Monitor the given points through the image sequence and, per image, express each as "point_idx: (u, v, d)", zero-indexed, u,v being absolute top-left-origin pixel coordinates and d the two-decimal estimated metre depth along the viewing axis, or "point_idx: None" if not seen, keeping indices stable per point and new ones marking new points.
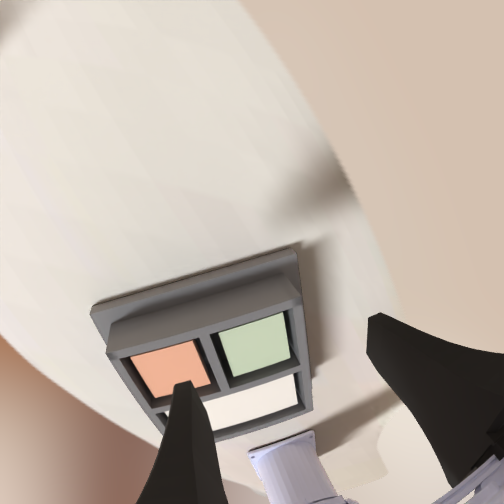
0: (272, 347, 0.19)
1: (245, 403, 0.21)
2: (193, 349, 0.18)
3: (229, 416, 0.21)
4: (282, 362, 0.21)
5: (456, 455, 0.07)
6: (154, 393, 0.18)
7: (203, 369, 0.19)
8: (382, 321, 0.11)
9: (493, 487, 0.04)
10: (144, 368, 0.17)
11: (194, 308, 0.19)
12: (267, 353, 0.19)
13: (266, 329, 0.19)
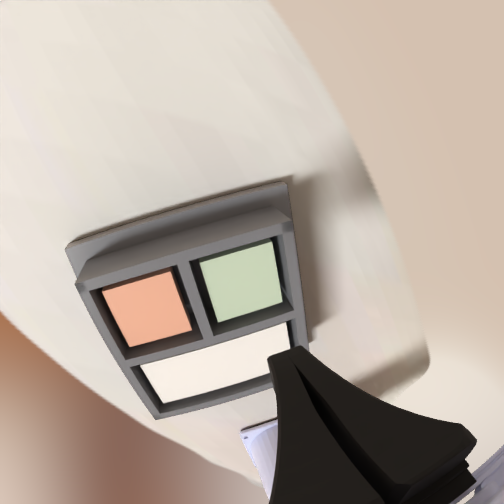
0: (261, 286, 0.18)
1: (232, 359, 0.19)
2: (171, 283, 0.16)
3: (214, 376, 0.20)
4: (273, 308, 0.19)
5: None
6: (128, 341, 0.17)
7: (183, 310, 0.17)
8: (296, 357, 0.10)
9: (493, 487, 0.04)
10: (117, 306, 0.16)
11: (175, 238, 0.17)
12: (255, 294, 0.18)
13: (254, 261, 0.17)
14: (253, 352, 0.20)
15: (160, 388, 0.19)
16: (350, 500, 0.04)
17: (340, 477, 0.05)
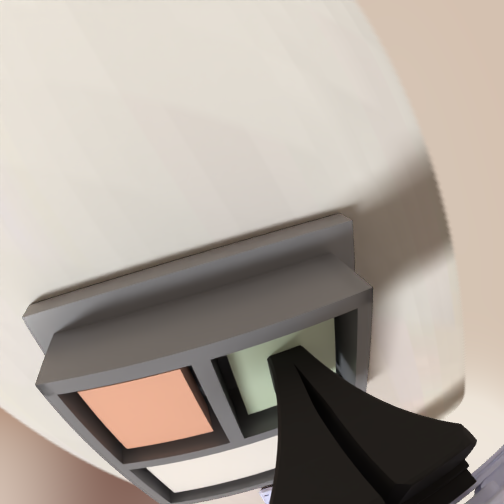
0: None
1: (265, 451, 0.13)
2: (182, 383, 0.10)
3: (241, 468, 0.13)
4: None
5: None
6: (124, 443, 0.10)
7: (201, 412, 0.11)
8: (296, 357, 0.10)
9: (493, 487, 0.04)
10: (103, 409, 0.09)
11: (184, 311, 0.10)
12: None
13: (305, 341, 0.11)
14: None
15: (170, 482, 0.12)
16: (350, 500, 0.04)
17: (340, 477, 0.05)
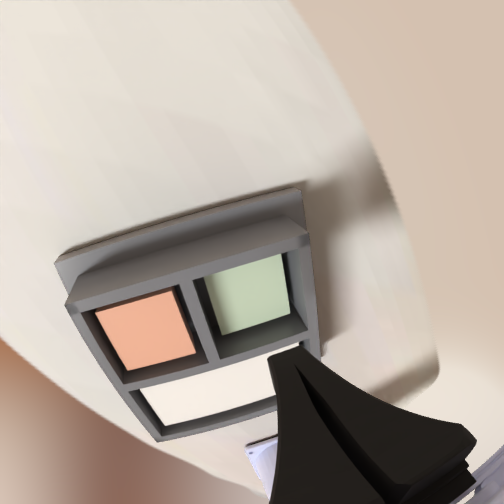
0: (268, 297, 0.16)
1: (240, 381, 0.17)
2: (173, 303, 0.14)
3: (220, 398, 0.18)
4: (285, 327, 0.17)
5: None
6: (126, 364, 0.15)
7: (186, 332, 0.15)
8: (296, 357, 0.10)
9: (493, 487, 0.04)
10: (113, 328, 0.14)
11: (176, 252, 0.15)
12: (262, 305, 0.17)
13: (260, 272, 0.16)
14: (262, 374, 0.18)
15: (162, 411, 0.17)
16: (350, 500, 0.04)
17: (340, 477, 0.05)
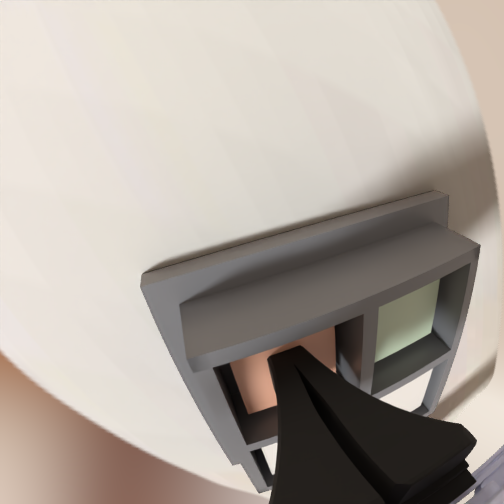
0: (419, 317, 0.13)
1: None
2: (331, 327, 0.11)
3: None
4: (427, 349, 0.13)
5: None
6: (249, 407, 0.12)
7: (334, 360, 0.12)
8: (296, 357, 0.10)
9: (493, 487, 0.04)
10: (245, 367, 0.11)
11: (337, 269, 0.11)
12: (412, 327, 0.13)
13: (421, 289, 0.12)
14: (394, 402, 0.14)
15: (275, 461, 0.13)
16: (350, 500, 0.04)
17: (340, 477, 0.05)
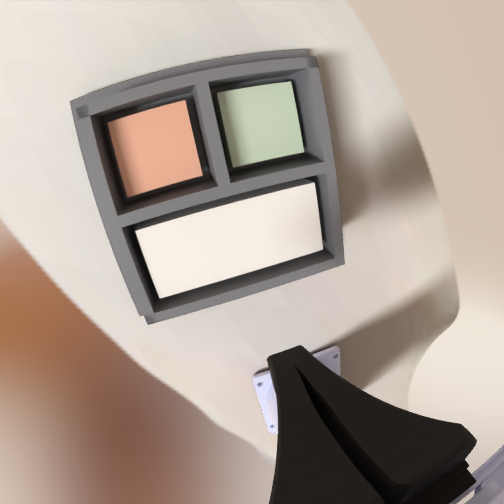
0: (281, 128, 0.15)
1: (251, 229, 0.16)
2: (185, 113, 0.14)
3: (228, 255, 0.16)
4: (300, 163, 0.16)
5: None
6: (127, 188, 0.15)
7: (194, 148, 0.15)
8: (296, 357, 0.10)
9: (493, 487, 0.04)
10: (121, 140, 0.14)
11: None
12: (275, 136, 0.16)
13: (273, 99, 0.15)
14: (277, 221, 0.16)
15: (157, 271, 0.16)
16: (350, 500, 0.04)
17: (340, 477, 0.05)
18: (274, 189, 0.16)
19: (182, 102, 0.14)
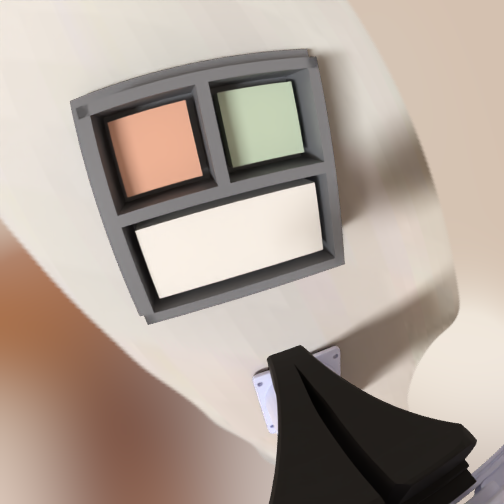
0: (281, 128, 0.15)
1: (251, 229, 0.16)
2: (185, 113, 0.14)
3: (228, 255, 0.16)
4: (300, 163, 0.16)
5: None
6: (127, 188, 0.15)
7: (194, 148, 0.15)
8: (296, 357, 0.10)
9: (493, 487, 0.04)
10: (121, 140, 0.14)
11: None
12: (275, 136, 0.16)
13: (273, 99, 0.15)
14: (277, 221, 0.16)
15: (157, 271, 0.16)
16: (350, 500, 0.04)
17: (340, 477, 0.05)
18: (274, 189, 0.16)
19: (182, 102, 0.14)
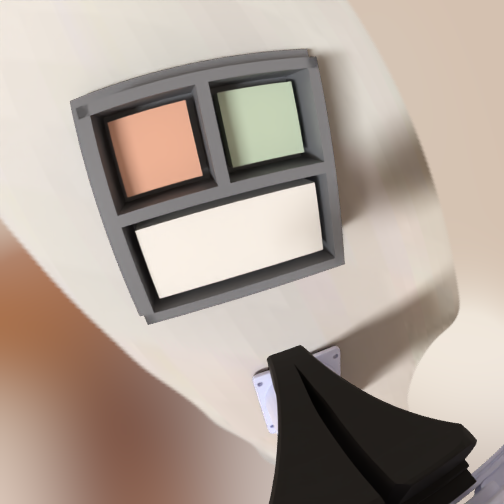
0: (281, 128, 0.15)
1: (251, 229, 0.16)
2: (185, 113, 0.14)
3: (228, 255, 0.16)
4: (300, 163, 0.16)
5: None
6: (127, 188, 0.15)
7: (194, 148, 0.15)
8: (296, 357, 0.10)
9: (493, 487, 0.04)
10: (121, 140, 0.14)
11: None
12: (275, 136, 0.16)
13: (273, 99, 0.15)
14: (277, 221, 0.16)
15: (157, 271, 0.16)
16: (350, 500, 0.04)
17: (340, 477, 0.05)
18: (274, 189, 0.16)
19: (182, 102, 0.14)
